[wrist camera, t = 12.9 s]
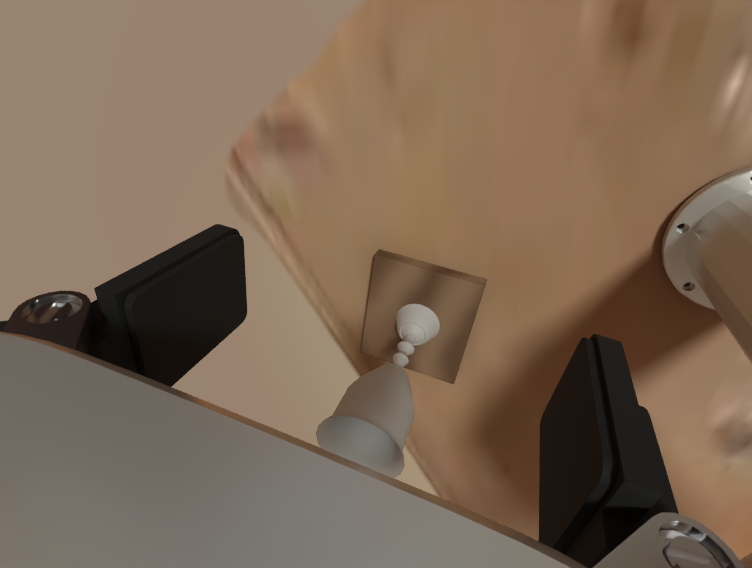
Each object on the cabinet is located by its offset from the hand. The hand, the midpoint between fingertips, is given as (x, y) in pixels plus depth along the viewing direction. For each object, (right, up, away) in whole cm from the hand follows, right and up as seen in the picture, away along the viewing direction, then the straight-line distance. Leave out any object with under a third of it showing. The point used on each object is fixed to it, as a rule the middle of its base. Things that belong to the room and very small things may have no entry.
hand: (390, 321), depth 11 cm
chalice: (+4, -3, +35) cm, 36 cm away
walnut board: (+5, -3, +37) cm, 37 cm away
